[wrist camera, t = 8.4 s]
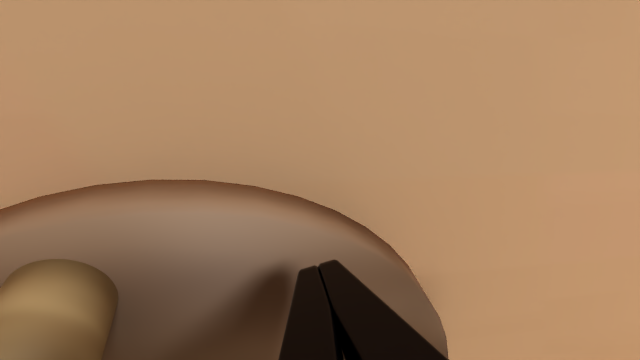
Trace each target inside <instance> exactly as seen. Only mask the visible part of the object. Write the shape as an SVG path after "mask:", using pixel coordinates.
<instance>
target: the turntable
mask: <svg viewBox="0 0 640 360" xmlns="http://www.w3.org/2000/svg"><path fill="white" fill-rule="evenodd" d="M333 259H336V260H338V261H339V262H340V263H341V264H342V265H344V266H345V267H346V268H347V269H348V270H349V271H350V272H351V273H352V274H354V275H355V276H356V277H357V278H358V279H359V280H360V281H361V282H363V283H364V284H365V285H366V286H367V287H368V288H369V289H370V290H372V291H373V292H374V293H375V294H376V295H377V296H378V297H379V298H380V299H382V300H383V301H384V302H385V303H386V304H387V305H388V306H389V307H391V308H392V309H393V310H394V311H395V312H396V313H397V314H398V315H400V316H401V317H402V318H403V319H404V320H405V321H406V322H407V323H408V324H410V325H411V326H412V327H413V328H414V329H415V330H416V331H417V332H419V333H420V334H421V335H422V336H423V337H424V338H425V339H426V340H428V341H429V342H430V343H431V344H432V345H433V346H434V347H435V348H436V349H438V350H439V351H440V352H441V353H442V354H443V355H444V356H445V357H447V358H448V350H447V340H446V335H445V332H444V329H443V326H442V323H441V320H440V317H439V316H438V314H437V312H436V311H435V309H434V307H433V306H432V304H431V302H430V301H429V299H428V297H427V296H426V294H425V292H424V291H423V289H422V287H421V286H420V284H419V283H418V281H417V279H416V278H415V276H414V274H413V273H412V271H411V269H410V268H409V266H408V265H407V264H406V262H405V261H404V260H403V259H402V258H401V257H400V256H399V255H398V254H397V253H396V252H395V250H394V249H393V248H392V247H391V246H390V245H389V244H387V243H386V242H385V241H383V240H382V239H381V238H380V237H378V236H377V235H376V234H374V233H373V232H372V231H370V230H369V229H368V228H366V227H365V226H363V225H361V224H359V223H358V222H356V221H354V220H352V219H350V218H348V217H346V216H345V215H343V214H341V213H339V212H337V211H335V210H333V209H330V208H327V207H325V206H322V205H319V204H317V203H314V202H311V201H309V200H306V199H303V198H301V197H298V196H294V195H290V194H285V193H281V192H277V191H273V190H269V189H264V188H260V187H256V186H249V185H241V184H232V183H224V182H215V181H207V180H144V181H133V182H123V183H113V184H102V185H94V186H89V187H84V188H79V189H74V190H70V191H65V192H60V193H55V194H50V195H45V196H41V197H37V198H34V199H31V200H28V201H25V202H22V203H19V204H16V205H13V206H10V207H7V208H4V209H1V210H0V360H278V359H279V354H280V350H281V346H282V341H283V337H284V332H285V328H286V323H287V319H288V315H289V310H290V306H291V301H292V297H293V293H294V288H295V284H296V279H297V275H298V272H299V270H300V269H303V268H306V267H310V266H313V265H316V266H319V264H320V263H323V262H326V261H330V260H333ZM343 357H344V356H343ZM344 360H345V359H344Z"/></svg>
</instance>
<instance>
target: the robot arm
mask: <svg viewBox="0 0 640 360" xmlns="http://www.w3.org/2000/svg"><path fill="white" fill-rule="evenodd" d="M343 356H344V357H343ZM344 359H345V360H449V359H448V358H447V357H445V356H444V355H443V354H442V353H441V352H440V351H439V350H438V349H436V348H435V347H434V346H433V345H432V344H431V343H430V342H429V341H428V340H426V339H425V338H424V337H423V336H422V335H421V334H420V333H419V332H417V331H416V330H415V329H414V328H413V327H412V326H411V325H410V324H408V323H407V322H406V321H405V320H404V319H403V318H402V317H401V316H400V315H398V314H397V313H396V312H395V311H394V310H393V309H392V308H391V307H389V306H388V305H387V304H386V303H385V302H384V301H383V300H382V299H380V298H379V297H378V296H377V295H376V294H375V293H374V292H373V291H372V290H370V289H369V288H368V287H367V286H366V285H365V284H364V283H363V282H361V281H360V280H359V279H358V278H357V277H356V276H355V275H354V274H352V273H351V272H350V271H349V270H348V269H347V268H346V267H345V266H344V265H342V264H341V263H340V262H339V261H338V260H336V259H333V260H330V261H326V262H323V263H320V264H319V266H316V265H313V266H310V267H306V268H303V269H300V270H299V272H298V275H297V279H296V284H295V288H294V293H293V297H292V301H291V306H290V310H289V315H288V319H287V323H286V328H285V332H284V337H283V341H282V346H281V350H280V354H279V359H278V360H344Z"/></svg>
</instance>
